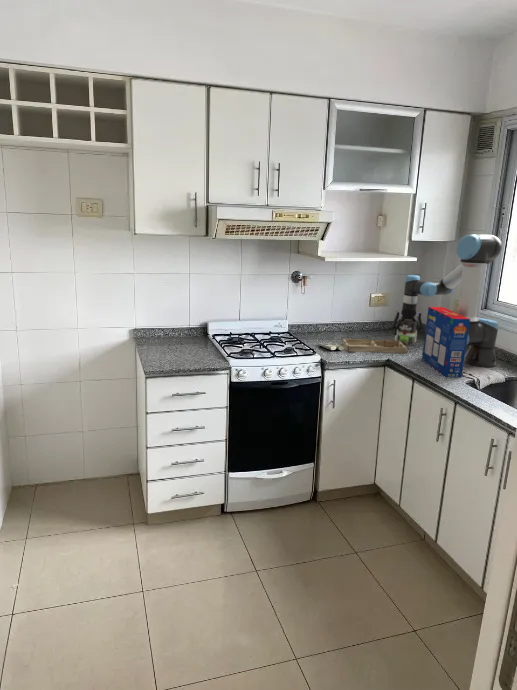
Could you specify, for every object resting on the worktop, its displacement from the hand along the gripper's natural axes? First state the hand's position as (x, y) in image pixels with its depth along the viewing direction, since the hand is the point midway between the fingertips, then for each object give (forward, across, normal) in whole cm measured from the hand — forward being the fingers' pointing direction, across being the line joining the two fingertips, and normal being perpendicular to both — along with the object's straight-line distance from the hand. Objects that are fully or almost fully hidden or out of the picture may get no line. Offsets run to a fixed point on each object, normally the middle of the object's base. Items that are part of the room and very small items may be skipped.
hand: (405, 341), depth 297 cm
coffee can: (+2, 0, 0) cm, 2 cm away
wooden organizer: (+2, +21, +14) cm, 25 cm away
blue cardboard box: (+2, -6, +44) cm, 44 cm away
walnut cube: (+1, +13, +14) cm, 19 cm away
